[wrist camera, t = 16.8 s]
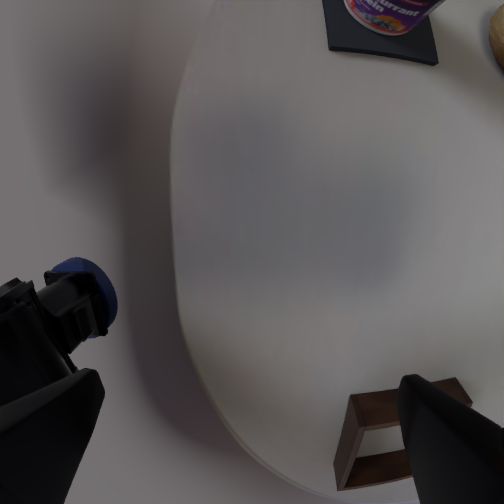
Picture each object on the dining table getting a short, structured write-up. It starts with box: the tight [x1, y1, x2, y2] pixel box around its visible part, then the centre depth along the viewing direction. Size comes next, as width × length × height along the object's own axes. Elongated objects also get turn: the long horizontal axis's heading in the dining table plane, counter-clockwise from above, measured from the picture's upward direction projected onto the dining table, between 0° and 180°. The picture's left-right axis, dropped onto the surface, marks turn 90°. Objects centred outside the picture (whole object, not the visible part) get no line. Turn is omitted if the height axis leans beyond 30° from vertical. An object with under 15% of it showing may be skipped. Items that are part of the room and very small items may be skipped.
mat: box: [322, 0, 439, 66], centre depth 14 cm, size 8×8×1 cm
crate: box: [333, 378, 473, 491], centre depth 22 cm, size 11×11×4 cm
